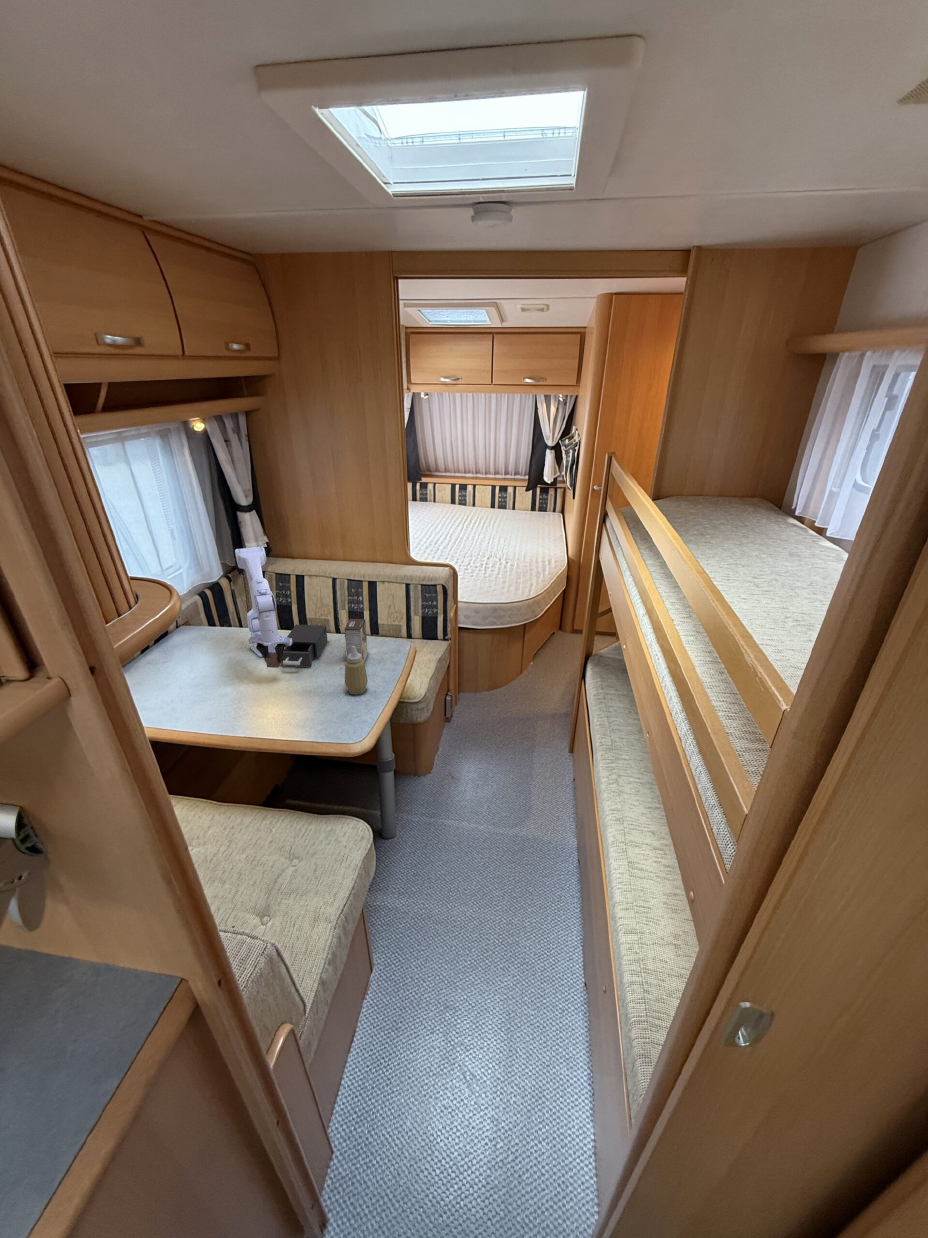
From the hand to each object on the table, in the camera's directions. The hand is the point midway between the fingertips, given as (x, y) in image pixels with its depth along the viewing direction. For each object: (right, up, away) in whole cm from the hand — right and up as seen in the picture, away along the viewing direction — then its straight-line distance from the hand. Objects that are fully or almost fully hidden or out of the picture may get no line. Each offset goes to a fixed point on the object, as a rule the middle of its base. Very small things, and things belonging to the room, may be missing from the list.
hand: (273, 661), depth 176 cm
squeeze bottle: (+30, -11, +1) cm, 31 cm away
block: (0, -1, +1) cm, 1 cm away
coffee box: (+26, -1, +20) cm, 33 cm away
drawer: (+4, -1, +16) cm, 17 cm away
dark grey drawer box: (+4, +3, +26) cm, 26 cm away
